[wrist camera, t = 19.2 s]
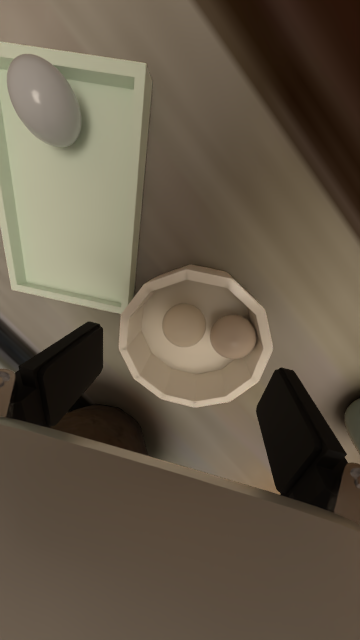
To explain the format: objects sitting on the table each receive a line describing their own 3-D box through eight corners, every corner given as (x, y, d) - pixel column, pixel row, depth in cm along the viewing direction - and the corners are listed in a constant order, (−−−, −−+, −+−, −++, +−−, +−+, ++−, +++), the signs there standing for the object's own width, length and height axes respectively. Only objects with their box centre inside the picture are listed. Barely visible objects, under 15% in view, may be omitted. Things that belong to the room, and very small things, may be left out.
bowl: (143, 254, 17) (124, 256, 13) (275, 281, 17) (298, 292, 13) (133, 361, 22) (116, 388, 18) (235, 385, 21) (242, 419, 17)
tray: (-10, 58, 14) (-34, 36, 12) (152, 82, 13) (146, 63, 12) (24, 286, 20) (11, 289, 19) (132, 310, 20) (127, 315, 18)
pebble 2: (186, 314, 20) (165, 293, 17) (219, 320, 17) (201, 295, 15) (170, 347, 19) (145, 330, 16) (203, 358, 16) (180, 341, 13)
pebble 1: (41, 84, 13) (-22, 22, 10) (92, 92, 13) (49, 33, 10) (46, 153, 15) (-6, 122, 11) (93, 161, 15) (55, 132, 11)
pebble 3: (197, 320, 16) (241, 300, 15) (209, 330, 20) (246, 314, 18) (214, 364, 15) (264, 345, 13) (224, 366, 18) (265, 351, 17)
